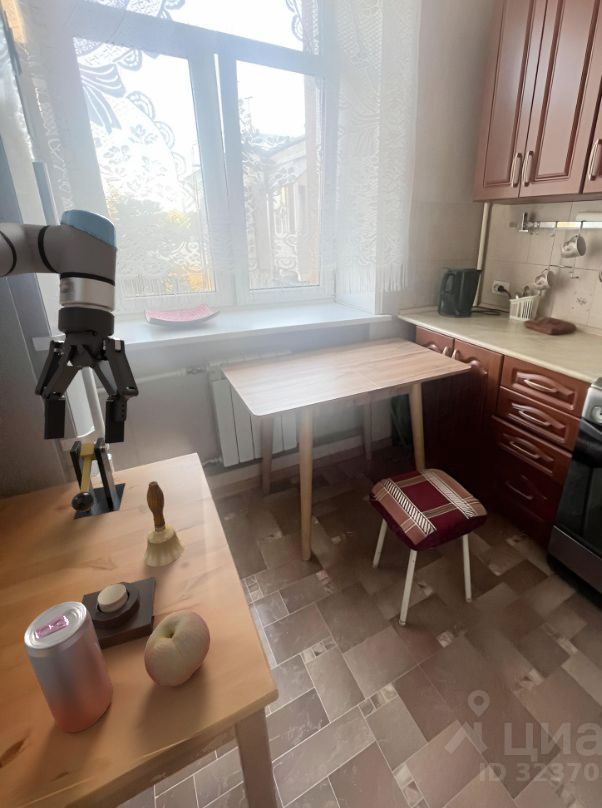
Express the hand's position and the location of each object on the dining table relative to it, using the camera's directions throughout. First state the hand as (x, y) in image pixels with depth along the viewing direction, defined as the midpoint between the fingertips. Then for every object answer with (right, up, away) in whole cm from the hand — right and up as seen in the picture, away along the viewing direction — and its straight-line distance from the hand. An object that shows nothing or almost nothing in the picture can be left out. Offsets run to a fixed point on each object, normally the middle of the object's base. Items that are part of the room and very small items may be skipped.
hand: (83, 440), depth 63 cm
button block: (+8, -27, -3) cm, 28 cm away
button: (+8, -24, -5) cm, 25 cm away
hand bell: (+9, -23, +8) cm, 26 cm away
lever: (-9, -10, +14) cm, 19 cm away
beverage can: (+10, -32, -14) cm, 36 cm away
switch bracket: (-11, -17, +21) cm, 29 cm away
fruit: (+20, -30, -9) cm, 37 cm away
